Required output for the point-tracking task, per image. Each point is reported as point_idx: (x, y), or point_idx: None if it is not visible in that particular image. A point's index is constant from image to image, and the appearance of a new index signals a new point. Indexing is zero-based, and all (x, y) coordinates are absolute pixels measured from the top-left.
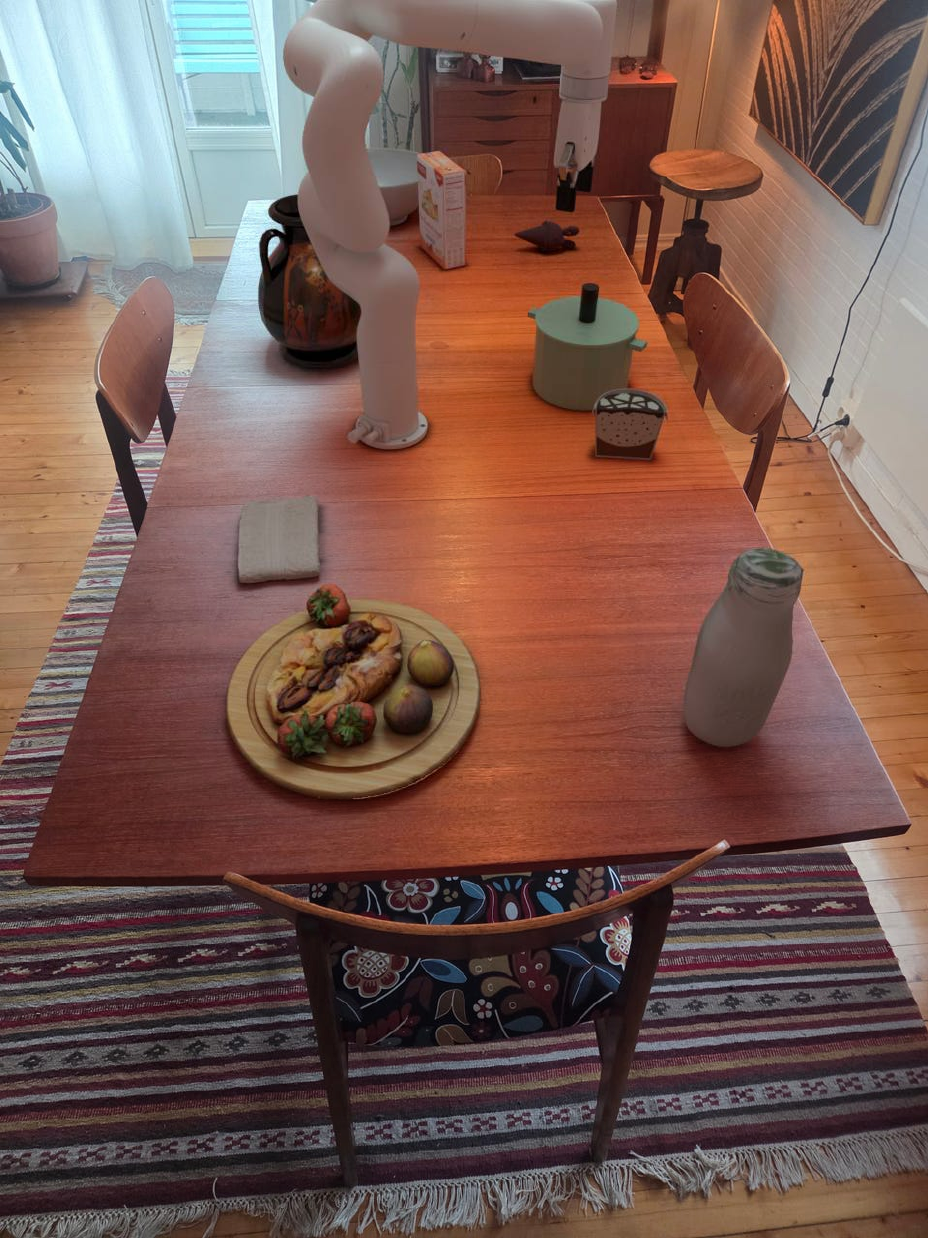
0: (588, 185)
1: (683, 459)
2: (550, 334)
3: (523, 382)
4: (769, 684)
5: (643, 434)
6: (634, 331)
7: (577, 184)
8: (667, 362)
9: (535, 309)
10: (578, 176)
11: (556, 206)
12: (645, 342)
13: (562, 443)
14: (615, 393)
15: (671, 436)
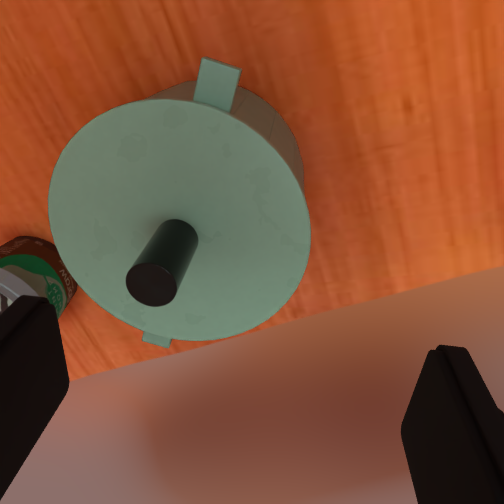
0: (410, 458)
1: (77, 340)
2: (59, 166)
3: (179, 60)
4: None
5: None
6: (164, 335)
7: (434, 397)
8: (338, 307)
9: (224, 78)
10: (450, 454)
11: (12, 307)
12: (162, 345)
13: (21, 183)
14: (15, 297)
15: (122, 324)
